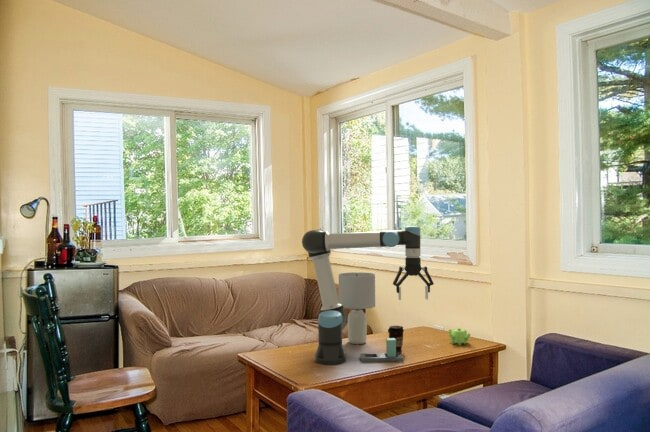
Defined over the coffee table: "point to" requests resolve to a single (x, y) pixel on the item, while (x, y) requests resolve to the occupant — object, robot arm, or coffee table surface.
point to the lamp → (357, 302)
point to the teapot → (459, 336)
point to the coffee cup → (397, 336)
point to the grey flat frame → (380, 357)
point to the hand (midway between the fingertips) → (413, 299)
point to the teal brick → (391, 347)
